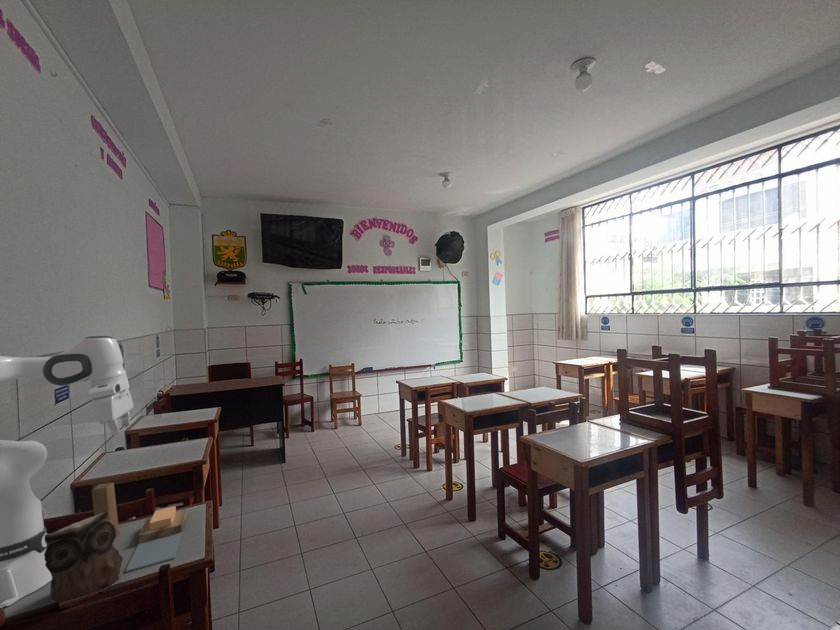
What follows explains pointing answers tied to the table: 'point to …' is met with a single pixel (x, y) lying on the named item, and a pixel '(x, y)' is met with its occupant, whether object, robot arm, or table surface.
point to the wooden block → (105, 502)
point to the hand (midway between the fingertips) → (121, 430)
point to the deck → (164, 531)
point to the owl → (82, 558)
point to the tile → (163, 518)
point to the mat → (154, 552)
